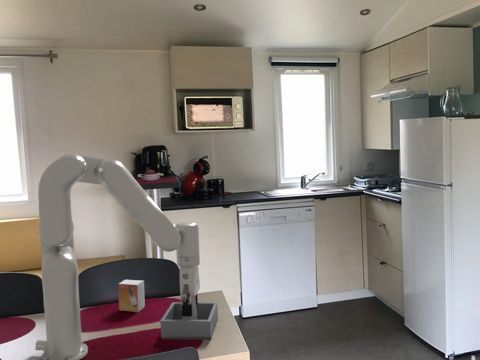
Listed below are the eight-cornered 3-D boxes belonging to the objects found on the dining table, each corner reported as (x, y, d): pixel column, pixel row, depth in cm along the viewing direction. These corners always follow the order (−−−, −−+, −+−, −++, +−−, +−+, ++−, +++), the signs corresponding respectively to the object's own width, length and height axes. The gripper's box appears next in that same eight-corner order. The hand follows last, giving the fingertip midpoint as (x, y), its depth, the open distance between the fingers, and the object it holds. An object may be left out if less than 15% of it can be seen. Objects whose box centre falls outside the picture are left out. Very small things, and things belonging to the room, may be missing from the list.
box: (161, 339, 135) (160, 320, 134) (173, 318, 151) (172, 302, 150) (211, 339, 133) (210, 321, 133) (217, 318, 149) (217, 302, 149)
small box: (119, 311, 159) (117, 283, 158) (126, 305, 165) (125, 279, 164) (138, 312, 157) (137, 284, 156) (145, 306, 163) (144, 280, 162)
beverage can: (195, 328, 139) (192, 293, 138) (181, 328, 140) (178, 293, 139) (199, 322, 144) (196, 288, 142) (185, 322, 145) (183, 288, 143)
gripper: (194, 267, 131) (196, 321, 132) (203, 253, 148) (205, 300, 150) (170, 267, 132) (172, 320, 133) (182, 253, 149) (184, 300, 150)
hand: (190, 310), depth 141 cm, fingers open, 9 cm apart
